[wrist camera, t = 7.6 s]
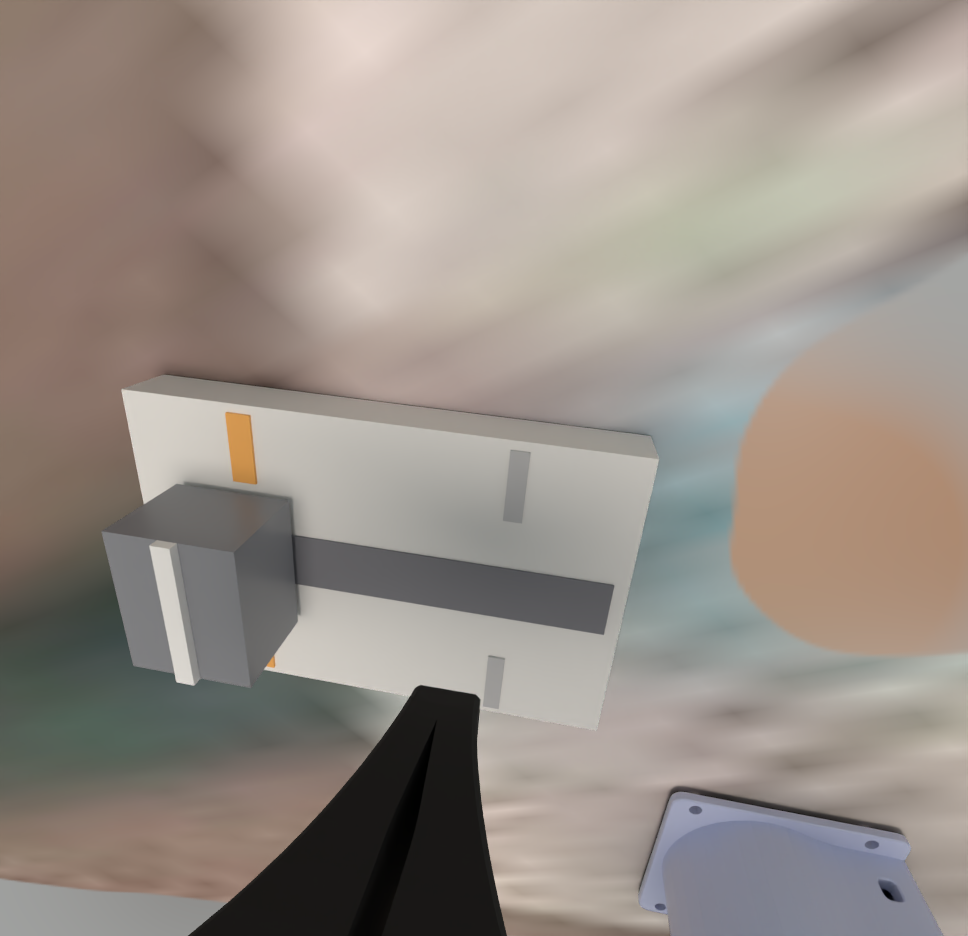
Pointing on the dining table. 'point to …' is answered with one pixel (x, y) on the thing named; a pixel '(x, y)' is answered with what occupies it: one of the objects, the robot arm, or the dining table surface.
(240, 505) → the fader cap
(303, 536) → the console
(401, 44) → the dining table surface
